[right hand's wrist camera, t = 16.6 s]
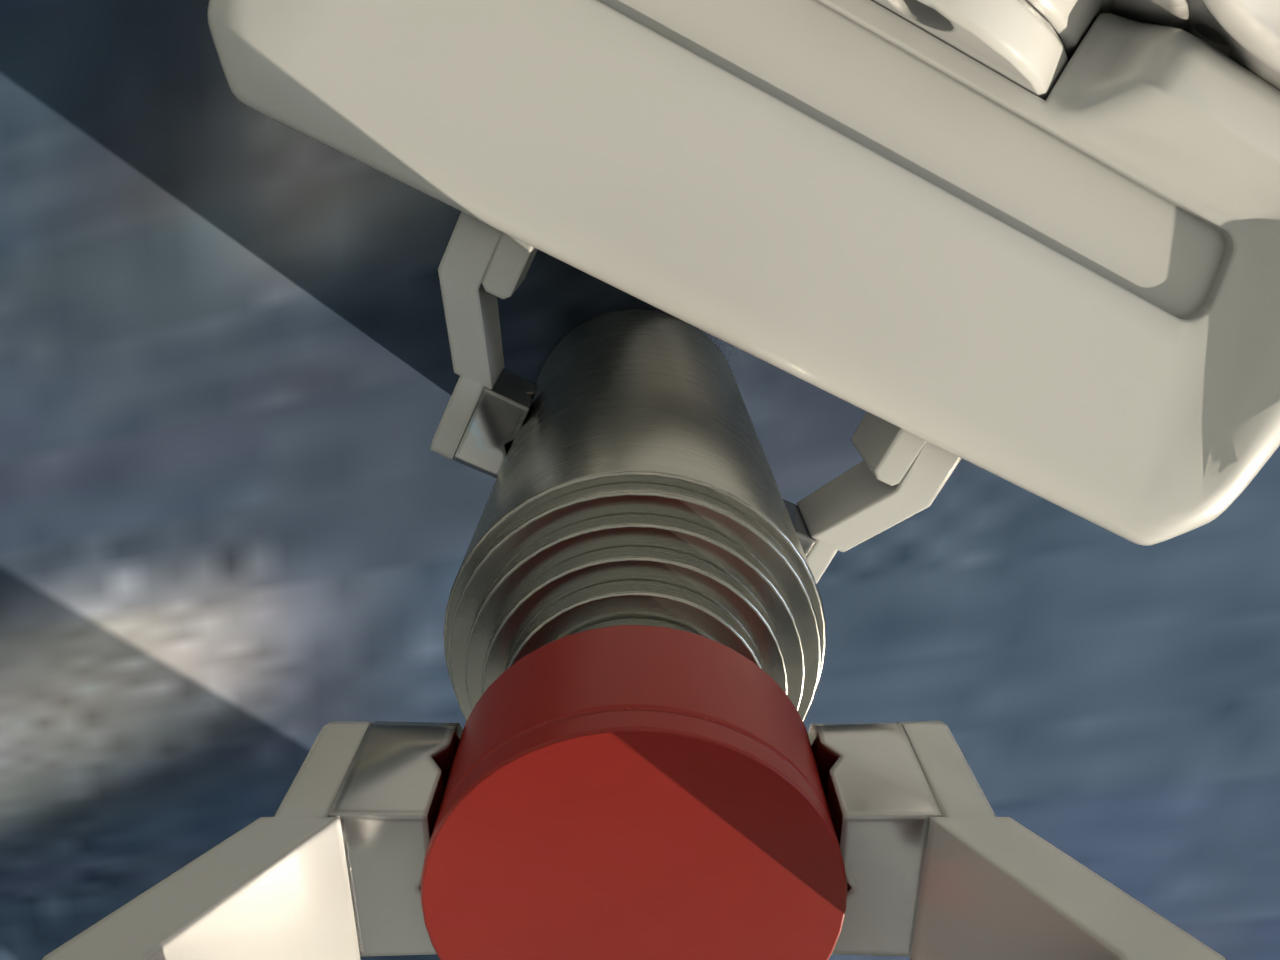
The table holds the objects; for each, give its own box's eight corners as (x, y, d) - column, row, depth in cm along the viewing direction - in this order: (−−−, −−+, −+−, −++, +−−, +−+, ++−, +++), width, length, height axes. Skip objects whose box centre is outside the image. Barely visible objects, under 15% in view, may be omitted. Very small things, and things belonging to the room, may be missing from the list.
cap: (514, 939, 11) (491, 1087, 9) (408, 665, 10) (358, 779, 8) (838, 879, 11) (877, 1020, 9) (777, 586, 9) (807, 687, 8)
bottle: (528, 495, 25) (359, 1050, 10) (540, 297, 23) (353, 609, 8) (723, 513, 25) (854, 1083, 10) (752, 319, 23) (965, 663, 8)
